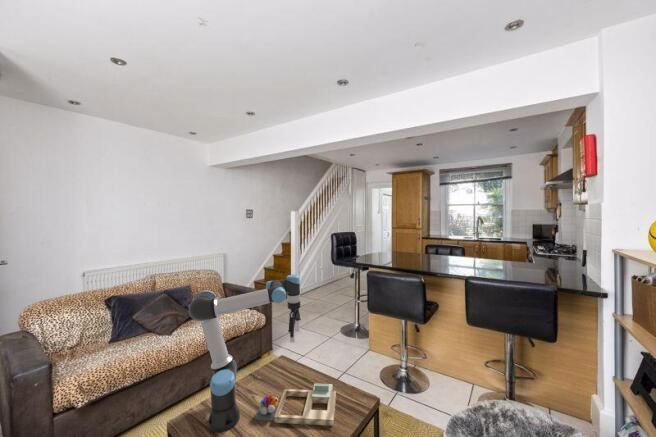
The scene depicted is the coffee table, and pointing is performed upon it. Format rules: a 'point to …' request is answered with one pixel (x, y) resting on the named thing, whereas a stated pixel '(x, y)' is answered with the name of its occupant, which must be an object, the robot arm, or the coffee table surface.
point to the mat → (265, 417)
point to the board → (308, 409)
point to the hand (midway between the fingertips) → (295, 336)
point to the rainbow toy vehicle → (268, 404)
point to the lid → (321, 391)
